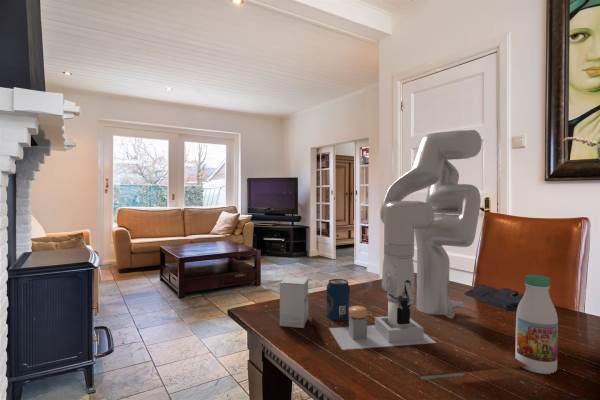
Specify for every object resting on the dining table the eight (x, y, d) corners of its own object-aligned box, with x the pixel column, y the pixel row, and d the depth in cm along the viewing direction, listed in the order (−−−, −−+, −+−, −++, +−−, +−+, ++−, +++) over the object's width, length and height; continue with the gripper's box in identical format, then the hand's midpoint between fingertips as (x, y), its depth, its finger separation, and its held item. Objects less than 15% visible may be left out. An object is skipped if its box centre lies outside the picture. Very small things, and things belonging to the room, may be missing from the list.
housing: (411, 328, 99) (411, 305, 99) (436, 348, 86) (436, 322, 86) (328, 333, 95) (328, 309, 95) (342, 356, 82) (342, 328, 82)
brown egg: (363, 326, 92) (363, 305, 92) (368, 333, 88) (369, 311, 88) (346, 327, 91) (346, 306, 91) (352, 334, 87) (352, 312, 87)
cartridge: (403, 329, 95) (403, 292, 94) (412, 337, 89) (413, 298, 89) (384, 330, 94) (384, 293, 93) (392, 338, 88) (393, 299, 88)
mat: (438, 353, 84) (438, 351, 84) (464, 375, 74) (464, 372, 74) (398, 356, 82) (398, 354, 82) (420, 379, 72) (420, 376, 72)
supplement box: (304, 328, 99) (304, 284, 98) (278, 326, 100) (278, 282, 100) (308, 319, 106) (309, 277, 106) (285, 317, 108) (285, 276, 107)
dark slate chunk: (491, 291, 137) (492, 279, 137) (547, 309, 116) (547, 295, 116) (460, 295, 132) (460, 282, 132) (512, 314, 112) (512, 299, 111)
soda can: (323, 318, 107) (323, 279, 106) (344, 316, 109) (344, 277, 108) (330, 326, 100) (331, 285, 100) (353, 324, 102) (353, 283, 102)
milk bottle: (507, 358, 81) (508, 272, 81) (538, 357, 82) (540, 272, 81) (532, 376, 73) (533, 281, 73) (566, 374, 74) (568, 280, 74)
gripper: (372, 245, 99) (372, 309, 99) (399, 256, 82) (399, 333, 82) (398, 244, 100) (397, 308, 100) (429, 255, 83) (428, 331, 84)
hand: (398, 318), depth 91 cm, fingers closed on cartridge, 5 cm apart
